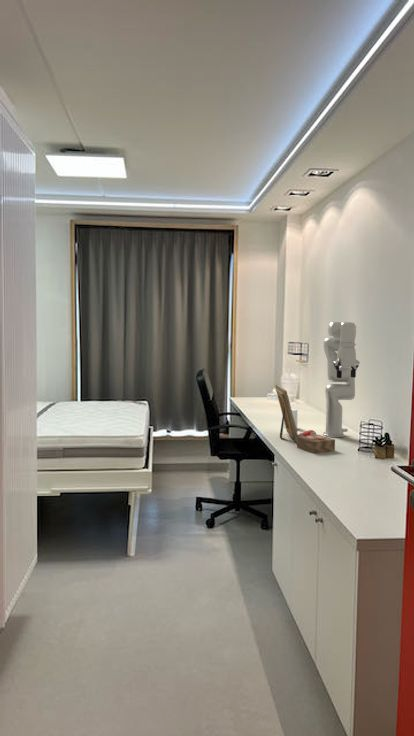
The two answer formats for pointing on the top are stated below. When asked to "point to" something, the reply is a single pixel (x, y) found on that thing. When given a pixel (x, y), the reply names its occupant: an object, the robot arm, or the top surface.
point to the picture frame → (286, 413)
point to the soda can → (307, 433)
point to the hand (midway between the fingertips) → (346, 377)
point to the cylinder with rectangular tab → (293, 417)
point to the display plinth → (316, 443)
